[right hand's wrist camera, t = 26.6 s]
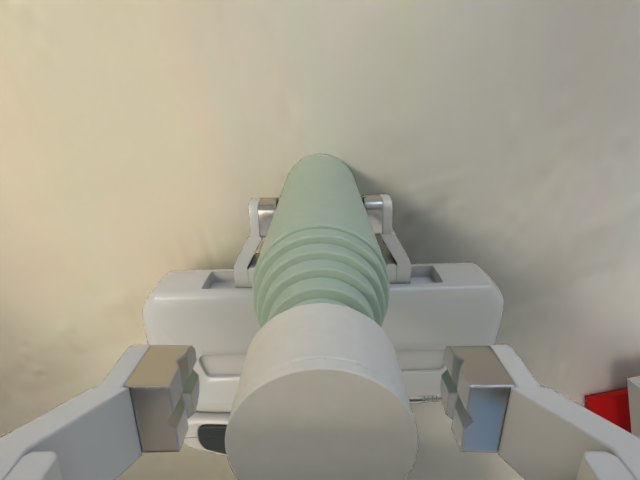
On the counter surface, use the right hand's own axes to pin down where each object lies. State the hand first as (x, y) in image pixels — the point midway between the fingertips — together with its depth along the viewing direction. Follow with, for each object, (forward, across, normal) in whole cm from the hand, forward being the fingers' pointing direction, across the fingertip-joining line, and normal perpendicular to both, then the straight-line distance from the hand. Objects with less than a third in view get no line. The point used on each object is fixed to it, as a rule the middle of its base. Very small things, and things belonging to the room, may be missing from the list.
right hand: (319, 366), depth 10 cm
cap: (-2, 0, 0) cm, 2 cm away
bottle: (+19, 0, 0) cm, 19 cm away
